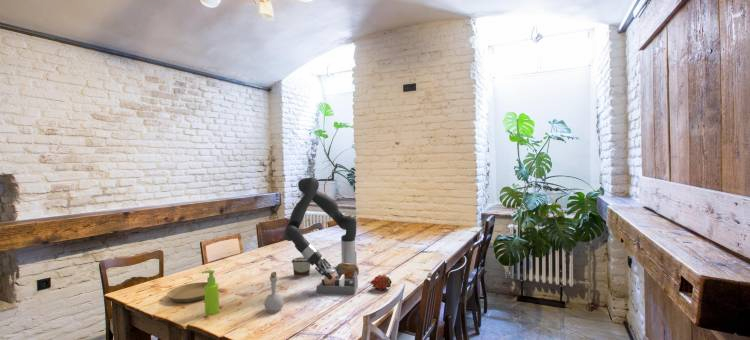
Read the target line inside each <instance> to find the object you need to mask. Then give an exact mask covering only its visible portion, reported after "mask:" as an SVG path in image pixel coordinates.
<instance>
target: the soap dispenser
mask: <svg viewBox="0 0 750 340" xmlns="http://www.w3.org/2000/svg"><path fill="white" fill-rule="evenodd" d="M215 272H216V271H215V270H212V269H209V270H203V271H202V272H201V274H208V277H206V278H207V280H206V282H207V285H205V286H204V287H205V299H204V314H206V315H205V316H208V315H211V316H215V315H217V314H219V313H220V303H219V302H220V301H219V299H220V297H219V283H216V277H215V276H214V273H215Z"/></svg>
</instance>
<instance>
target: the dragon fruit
mask: <svg viewBox="0 0 750 340" xmlns="http://www.w3.org/2000/svg"><path fill="white" fill-rule="evenodd" d="M392 283H393V281H392V279H390V277H389V276H387V275H385V274H382V275H381V274H378V275H377V276H375V277H374V279H372V280H371V281H370V282H369V284H370V285H372V288H373V289H377V290H379V291H382V290H384V291H385V290H387V288H390V287H391V285H392Z"/></svg>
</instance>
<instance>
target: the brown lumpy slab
mask: <svg viewBox="0 0 750 340" xmlns="http://www.w3.org/2000/svg"><path fill="white" fill-rule="evenodd" d="M355 272H357V277H359V273H360V270H359V266H358V265H355V264H349V263H342V262H340V263H338V264H337V265H336V269H335V273H336V274H337V275H338V276H339V277H341V276H342V274H343V275H344V279H350V280H353V276H354V274H355Z"/></svg>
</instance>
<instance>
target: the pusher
mask: <svg viewBox="0 0 750 340" xmlns="http://www.w3.org/2000/svg"><path fill="white" fill-rule="evenodd" d="M339 277H340V276H339ZM344 280H345V277H344V275H343V274H342V276H341V277H340V278H339V286H344V285H345V283H344Z"/></svg>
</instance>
